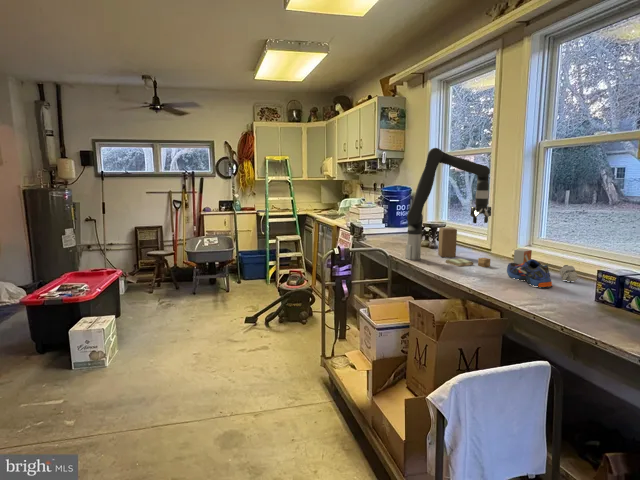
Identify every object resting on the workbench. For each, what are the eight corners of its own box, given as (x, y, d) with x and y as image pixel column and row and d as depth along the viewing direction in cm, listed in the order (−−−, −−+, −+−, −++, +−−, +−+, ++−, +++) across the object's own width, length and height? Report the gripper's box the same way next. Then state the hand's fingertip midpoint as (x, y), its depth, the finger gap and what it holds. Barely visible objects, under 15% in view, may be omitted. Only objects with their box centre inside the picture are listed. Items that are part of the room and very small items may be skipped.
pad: (457, 266, 259) (457, 263, 259) (445, 262, 270) (445, 259, 270) (473, 265, 263) (473, 261, 263) (461, 261, 274) (461, 258, 274)
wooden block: (456, 257, 287) (457, 229, 284) (441, 257, 287) (442, 229, 284) (451, 255, 297) (453, 227, 294) (437, 254, 297) (439, 227, 294)
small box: (522, 273, 241) (524, 251, 239) (512, 271, 246) (514, 249, 244) (530, 271, 245) (532, 249, 243) (520, 269, 251) (521, 248, 249)
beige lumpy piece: (573, 284, 222) (566, 268, 228) (581, 279, 217) (573, 262, 222) (563, 285, 221) (556, 268, 227) (571, 279, 216) (564, 263, 221)
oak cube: (483, 267, 257) (483, 259, 256) (477, 265, 261) (478, 258, 261) (489, 266, 258) (490, 259, 258) (484, 265, 263) (484, 257, 262)
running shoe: (519, 274, 240) (520, 252, 238) (561, 288, 208) (563, 264, 207) (500, 275, 237) (501, 253, 235) (540, 290, 206) (542, 265, 204)
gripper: (476, 198, 257) (475, 224, 259) (495, 197, 262) (493, 223, 264) (468, 197, 264) (467, 222, 266) (486, 197, 269) (485, 222, 271)
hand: (480, 223), depth 265 cm, fingers open, 8 cm apart
